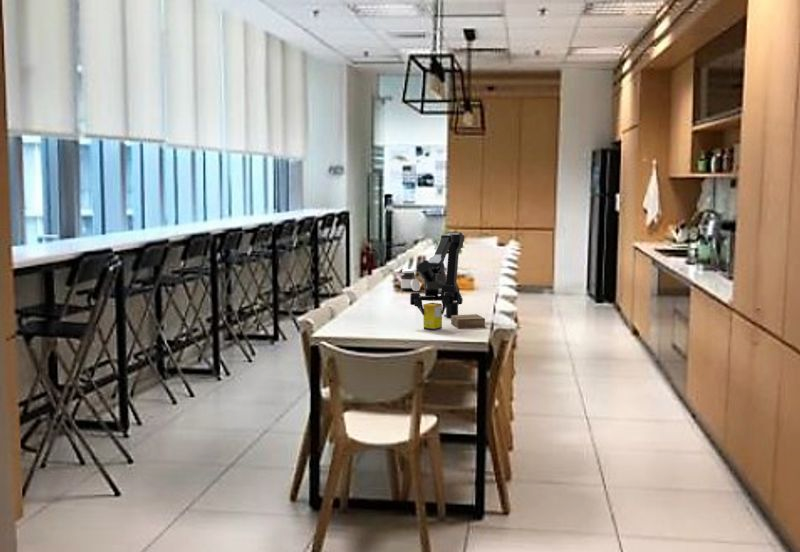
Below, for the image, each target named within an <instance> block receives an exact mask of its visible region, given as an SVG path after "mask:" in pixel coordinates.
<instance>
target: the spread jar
mask: <svg viewBox="0 0 800 552" xmlns="http://www.w3.org/2000/svg"><path fill="white" fill-rule="evenodd" d="M401 272H402V273H401V276H400V289H401V291H404V292H412V291H413V292H418V291H420V290H421V284H420V280H419V279H416V275H415V270H414V269H410V268H408V269H406V268H405V269H401Z"/></svg>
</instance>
